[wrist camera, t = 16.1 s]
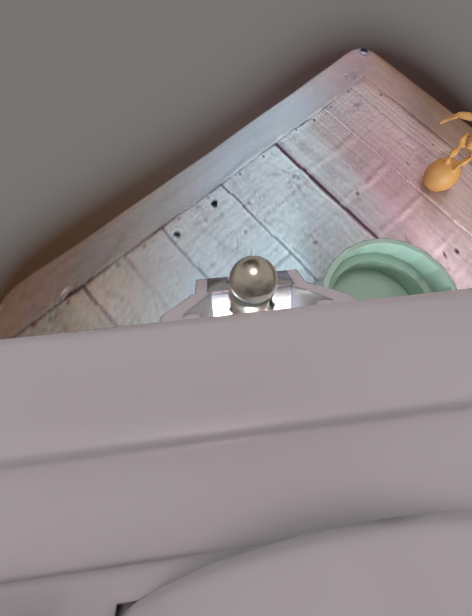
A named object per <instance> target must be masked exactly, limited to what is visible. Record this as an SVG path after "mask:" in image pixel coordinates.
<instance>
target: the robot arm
mask: <svg viewBox="0 0 472 616" xmlns="http://www.w3.org/2000/svg"><path fill="white" fill-rule="evenodd" d="M276 272H277V276H278V283H277V288H276V290H275V292H274V294H273V296H272V298H271V300H270V302H269V304H268V306H267V309H268V311H259V312H250V313H240V314H233V313H232V307H231V305H232V302H231V297H230V291H229V279H228V277H222V278H210V279H207V278H206V279H198V280H196V287H195V294H194V295H191V296H189V297H188V298H187V299H185V300H184V301H182V302H181V303H180V304H178V305H177V306H175V307H174V308H172V309H171V310H170V311H168V312H167V313H165V314H164V315H163V316H161V318H160V321H159V322H158V323H149V324H140V325H130V326H121V327H112V328H103V329H94V330H84V331H75V332H66V333H57V334H48V335H38V336H29V337H20V338H11V339H1V340H0V616H472V288H470V289H461V290H451V291H442V292H433V293H424V294H415V295H405V296H396V297H387V298H378V299H369V300H360V301H357V300H356V299H355V298H354V297H353V296H351V295H348V294H344V293H341V292H338V291H335V290H332V289H329V288H326V287H323V286H320V285H316V284H313V283H310V282H308V283H307V282H306V281H305V280H304V279H303V277H302V276H301V275H300V273H299V272H298V271H297V270H296V269H294V270H287V271H286V270H284V271H276Z"/></svg>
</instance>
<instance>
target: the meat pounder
mask: <svg viewBox="0 0 472 616" xmlns="http://www.w3.org/2000/svg"><path fill="white" fill-rule="evenodd" d="M277 283H278V276H277V272H276V270H275V268H274V266H273V265H272V264H271V263H270V262H269V261H268V260H267V259H265V258H263V257H260V256H247V257H245V258H242V259H241V260H239V261H238V262H237V263H236V264H235V265H234V266H233V268H232V270H231V272H230V277H229V291H230V297H231V302H232V305H231V307H232V313H233V314H240V313H250V312H259V311H268V309H267V306H268V304H269V302H270V300H271V298H272V296H273V294H274V292H275V290H276V288H277Z"/></svg>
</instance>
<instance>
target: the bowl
mask: <svg viewBox="0 0 472 616" xmlns="http://www.w3.org/2000/svg"><path fill="white" fill-rule="evenodd" d="M316 285H320V286H323V287H326V288H329V289H332V290H335V291H338V292H341V293H344V294H348V295H351V296H353V297H354V298H355V299H356V300H357V301H360V300H369V299H378V298H387V297H396V296H405V295H415V294H424V293H433V292H442V291H451V290H457V287H456V285H455V283H454V281H453V280H452V279H451V277H450V276H449V274H448V273H447V271H446V270H445V268H444V267H443V266H442V265H441V264H440V263H439V262H438V261H436V260H435V259H434V258H433V257H432V256H431V255H429V254H428V253H427V252H425V251H424V250H422V249H420V248H418V247H416V246H413V245H411V244H409V243H407V242H404V241H398V240H393V239H387V238H381V239H372V240H364V241H362V242H360V243H357V244H355V245H353V246H351V247H348V248H346V249H345V250H344V251H343V252H342V253H341V254H340V255H339V256H338V257H337V258H336V259H335V260H334V261H333V262H332V263H331V264H330V265H329V266H328V267H327V268H326V270H325V271H324V272H323V273H322V274H321V275H320V276H319V278H318V280H317V282H316Z"/></svg>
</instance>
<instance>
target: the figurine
mask: <svg viewBox="0 0 472 616" xmlns="http://www.w3.org/2000/svg"><path fill="white" fill-rule="evenodd" d="M458 117H459V118H462V119H465V120H469V121H472V113H470V112H458V113H456V114H454V115H451V116H449V117H447V118H445V119H444V120H443V121H442V122H441V123H442V124H443V123H444V122H445V123H446V122H447V121H448V120H449V121H450V120H453V119H456V118H458ZM441 123H440V124H441ZM461 147H462V148H465V147H466V148H467V149H469V150H470V151H469V154H470V156H469V157H466V158H464V159H463V160H462V161H461V162H459V161H458V160H457V159H455V158H452V157H453V156H455V155H456V154H457V153H458V152H459V150H460V148H461ZM471 159H472V133H471V135H470V133H465V134H463V135H462V137H461V138H460V140H459V142H458V147H456V148H454V149H453V150H452V151H451V152H450V155H449V156H448V157H444V158H440V159H438V160H436V161H434V162H433V163H431V164H430V165H429V166H428V168H427V169H426V171H425V173H424V176H423V182H424V185H425V186H426V188H428V189H429V190H431V191H435V192H439V191H444V190H447V189H449V188H451V187H452V186H453V185H455V184H456V183H457V181H458V180H459V178H460V176H461V174H462V166H463V165H466V164H467V163H468V162H469V161H470V160H471Z"/></svg>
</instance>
